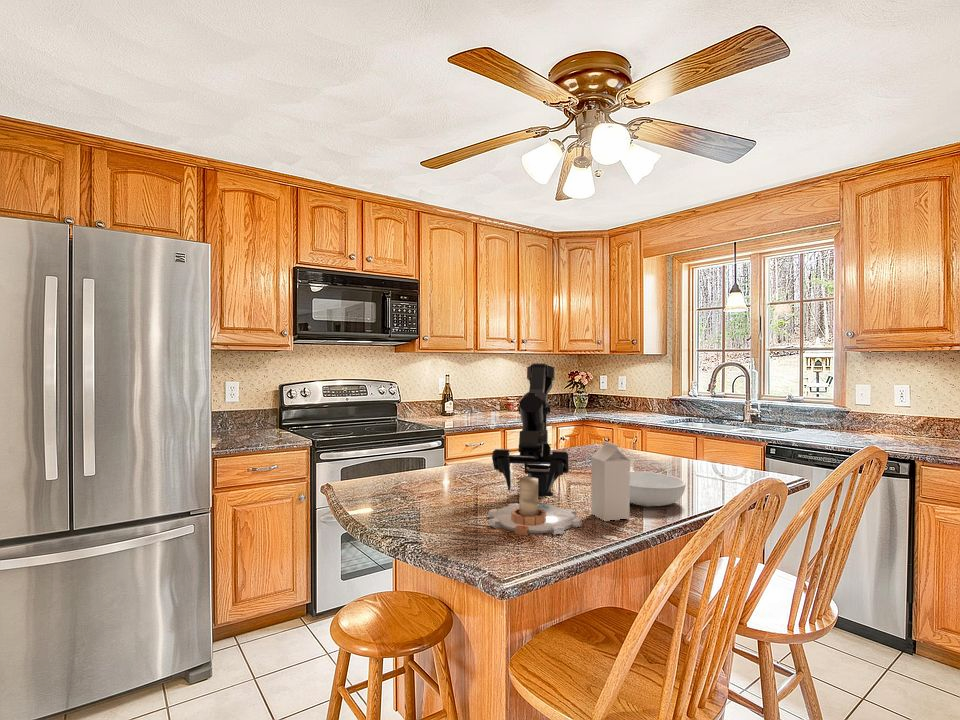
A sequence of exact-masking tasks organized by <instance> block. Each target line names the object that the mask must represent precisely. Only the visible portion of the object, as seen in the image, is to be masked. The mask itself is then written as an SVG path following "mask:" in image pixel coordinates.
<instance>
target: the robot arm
mask: <svg viewBox="0 0 960 720" xmlns="http://www.w3.org/2000/svg"><path fill="white" fill-rule="evenodd" d="M555 369H556V368H555V367H554V366H553V365H552V366H551V365H549V364H548V363H546V362H545V363H540V362H539V363H535V362H534V363H531V364H530V365H529V366H527V367H526V379H527V381H529V391H528V392H526V393H525V394H524V395H523V397H522V398H521V399H520V401H519V402H518V403H519V405H518V414H519V415H520V421H521V423H522V426H521V427H522V429H521V431H519V440H518V453H519V454H510V449H508V448H495V449H494V450H493V451H492V454H491V459H492V464H493V469H494V470H496V471H498V472H499V473H502V474H503V476H504V478H505V482H506V485H507V490H508V491H511V487H512V485H511V484H512V483H511V481H512V480H511V478H512V477H511V475H512V474H511V473H512V471H511V464H520V465H521V464H523V465H524V474H526V475H527V477H535V478H538V497H539V496H548V495H549V496H551V495H554V492H553V491H552V487H553V485H554V483H555V481H557V479H558V477H559V476H564V474H567V473H569V472H570V470H569V469H570V467H569V466H570V465H569V463H570V462H569V461H570V456H569V453H568V451H565V450H564V451H562V450H552V449H551V446H550V444H549V441H548V437H549V435H548V433H549V432H548V429H547V427H548V426H547V425H548V423H547V422H548V420H547V419H548V416H550V414H551V412H552V406H551V404H550V402H548V394H549V393H550V392H551V390H552V389H553V381H555V380H556V370H555Z"/></svg>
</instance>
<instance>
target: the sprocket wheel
mask: <svg viewBox="0 0 960 720" xmlns="http://www.w3.org/2000/svg"><path fill="white" fill-rule="evenodd" d="M487 516H488V518H489V526H491V527H492V528H494V529H500V528H501V529H504V530H507V531H511V532H514V534H515V535H518V536H519V535H520V536H528V535H529V534H531V535H533V534H535V535H536V534H537V535H541V534H542V535H543V533H547V534H551V533H552V534H553V535H552V534H551V535H552V536H557V535H556V534H560V535H564V534H565V531H567V530H566V529H568V530H570V529H572V528H575V527H574V526H577V527H578V526H579V527H581V526H582V525H581V524H583V520H582V518H580V517H577V510H575V509H572V508H562V507H560V506H559V507H558V506H555V505H554V506H553V505H551V503H542V502H539V503H538V515H537V516H523V515H519V503H517V502H515V503H508V504H507V506H504V507H501V508H498V509H497V508H491V509H490V510H488V515H487ZM580 525H581V526H580ZM572 526H573V527H572ZM571 527H572V528H571ZM577 527H576V528H577ZM569 528H570V529H569ZM564 530H565V531H564ZM563 533H564V534H563Z"/></svg>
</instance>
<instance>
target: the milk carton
mask: <svg viewBox="0 0 960 720" xmlns="http://www.w3.org/2000/svg"><path fill="white" fill-rule="evenodd" d="M602 443H603V444H602V446H601V447H599V449H598V450H597V451H595V452H594V453H593V455H592V456H591V457H590V458H591V468H590V469H591V470H590V471H591V474H590V475H591V476H590V477H591V478H590V479H591V482H590V483H591V484H590V485H591V486H590V489H591V492H590V493H591V495H590V497H591V498H590V503H591V505H590V514H591V515H592V514H593V516H594V515H595V516H594V517H596V518H597V519H599V518H600V520H601V519H602V520H601V521H603V520H604V521H603V522H611V521H610V520H615V521H621V520H620V519H627V518H629V519H630V504H631V503H630V472H631V471H630V469H631V467H630V459H629V458H627V456H626V455H625V454H623V450H622V449H621V448H619V447H618V445H619V444H616V443H613V442H608V441H606V440H603V442H602ZM627 520H628V519H627Z"/></svg>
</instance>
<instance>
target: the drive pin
mask: <svg viewBox="0 0 960 720" xmlns="http://www.w3.org/2000/svg"><path fill="white" fill-rule="evenodd" d="M518 483H519V485H518V486H519V491H518V492H519V494H518V495H519V503H518V504H519V515H523V516H537V515H538V505H539V496H538V478H535V477H528V476H522V477H519V481H518Z"/></svg>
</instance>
